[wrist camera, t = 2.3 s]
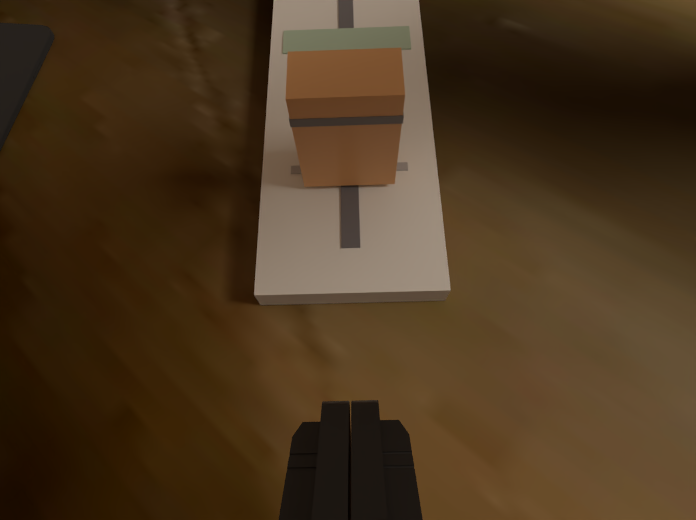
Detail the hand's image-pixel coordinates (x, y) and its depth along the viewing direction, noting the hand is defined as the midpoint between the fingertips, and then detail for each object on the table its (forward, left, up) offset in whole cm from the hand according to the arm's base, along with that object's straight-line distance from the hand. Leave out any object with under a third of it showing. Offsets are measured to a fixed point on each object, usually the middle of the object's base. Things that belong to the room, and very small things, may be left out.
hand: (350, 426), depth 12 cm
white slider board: (-11, -21, -15) cm, 28 cm away
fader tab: (-8, -16, -13) cm, 22 cm away
